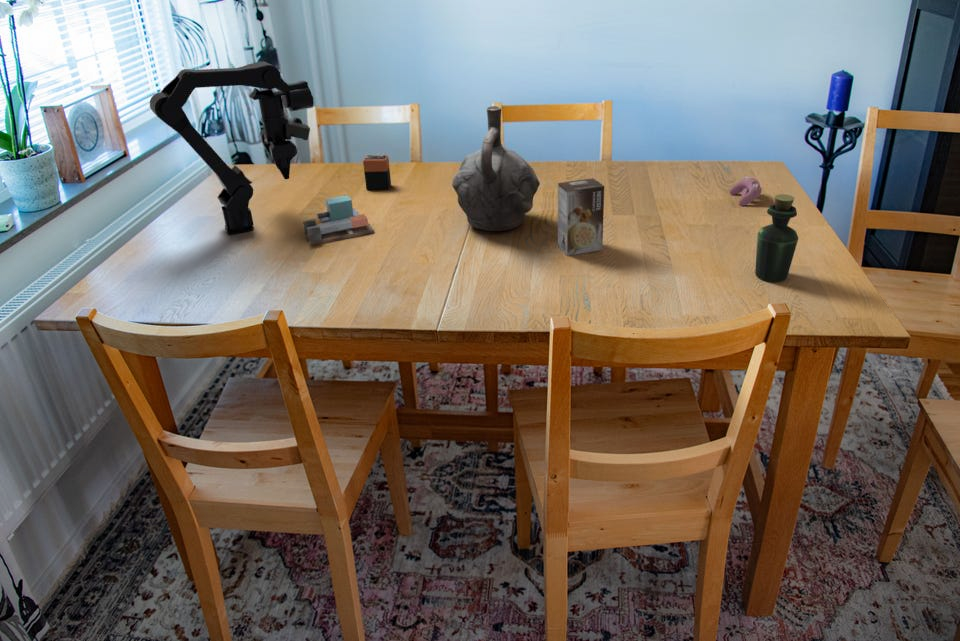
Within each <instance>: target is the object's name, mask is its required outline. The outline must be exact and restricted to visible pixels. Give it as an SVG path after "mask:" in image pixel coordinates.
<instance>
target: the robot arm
mask: <svg viewBox="0 0 960 641" xmlns="http://www.w3.org/2000/svg"><path fill="white" fill-rule="evenodd" d="M234 86H247V87H252V88H253V91H252V92H251V93H250V94H249V98H250V99H252V100H253V101H258V104H259V110H260V115H261V117H260V122H261V124H262V126H263V128H262V130H260V132H259V137H260V141H261V143H262V144H263V147H264V148H265V150H266V151H267V153H268V155H269V156H270V158H271V160H272V162H273V163H274V165H275V167H276V168H277V169H278V170H279V172H280V174H281V176H282V177H283V178H284V180H289V179H290V169H291V164H292V163H291V162H292V160H293V158H295V157H296V156H297V155H298V148H297V146H296V144H295V143H294V142H293V141H291V140H292V138H295V139H299V140H300V139H301V140H303V141H309V136H310V133H311V132H310V131H311V127H310V126H309V125H307V124H305V123H303V121H302V119H301V118H299V117H294V118H292V119H291V120H289V119H288V118H286V113H285V110H284V108H285V109H288V110H289V111H290V112H297V111H302V110H309V109H312V108H314V105H315V102H314V96H313V95H312V92H311V89H310V87H309V83H308V81H306V80H300V81H297V82H293V83H287V82H286V81H285V80H284V78H282V74H281V72H280V70H279V69H278V68H277V67H276V66H275V65H273V64H271V63H268V62H266V61H257V62H252V63H248V64H246V65H243V66H240V67H228V68H227V67H226V68H207V69H205V68H204V69H203V68H202V69H201V68H200V69H188V68H183V69H181V70H180V71H179V72H178V74H177V75H176V76H175V77H174V78H173V79H172V80H170V81H169V83H167V84H166V85H165V86H164V87H163V89H162V90H161V91H159V92H157V93H154V94H153V95H152V96H151V98H150V100H149V108H150V110H151V111H152V112H153V114H154V115H156V117H157V118H158V119H160V120H161V121H162V122H163V123H164V124H166V125H167V126H168V127H170V128H171V129H172V130H174V131H175V132H176V133H177V134H179V135H180V136H181V137H182V138H183V140H184V141H185V142H186V143H187V144H188V145H189V146H190V147H191V149H192V150H193V151H194V152H195V153H196V154H197V155H198V156H199V157H200V158H201V160H202V161H203V162H204V163H205V164H206V166H207V167H209V168H210V170H212V172H213V173H214V175H215V176H216V178H217V180H218V181H219V183H220V184H221V186H222V190H221V191H220V193H219V194H218V196H217V199H218V200H219V202H220V204H221V205H222V206H221V211H222V215H223V220H224V224H225V225H224V228H225V230H226V233H227V235H234V234H241V233H244V232H250V231H253V230H254V227H253V226H254V220H253V214H252V210H251V209H250V208H249V204H250V203H249V202H250V201H251V199H252V197H253V195H254V188H253V185H251V184H252V183H253V181H251V180H250V179H249V178H248V177H247V176H246V175H245V174H244V172H243V170H241V169H240V168H239V167H238V165H233V167H232V168H231V167H230V166H229V165H227V163H226V162H225V161H224V160H223V159H222V157H220V155H219V154H218V153H217V152H216V151H215V150H214V148H213V147H212V146H211V145H210V144H209V143H208V141H207V140H206V139H205V138H204V137H203V136H202V135H201V134H200V133H199V132H198V131H197V130H196V128H195V127H194V126H193V125H192V123H191V121H190V120H189V118H188V115H187V114H186V112H185V111H184V109H183V107H184V106H185V105H186V103H187V101H188V100H189V98H190V96H191V94H192V93H193V92H194V91H195V89H200V88H201V89H202V88H214V87H215V88H217V87H218V88H219V87H234ZM259 89H262V90H259ZM274 89H277V91H273V90H274Z"/></svg>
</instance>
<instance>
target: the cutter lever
mask: <svg viewBox="0 0 960 641" xmlns="http://www.w3.org/2000/svg"><path fill="white" fill-rule="evenodd" d="M368 223H369V221H368V217H367V216H366V215H365V214H364V213H363V214H360V215H357V216H352V217H349V218H346V219H342V220H337V221H332V222H327V223H323V224H322V223H319V224H318V223H317V224H316V225H313V226H317V225H319V226H320V231H321V234H325V233H329V232H334V231H339V230H343V229H348V228H352V227H353V228H356V227H360V226H365V225H368ZM311 227H312V226H311Z"/></svg>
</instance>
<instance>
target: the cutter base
mask: <svg viewBox="0 0 960 641" xmlns="http://www.w3.org/2000/svg"><path fill="white" fill-rule="evenodd" d="M302 225H303V231H304V235H305V237H306V236H307V239H308V242H309V244H311V245H312V246H315V245H319V244H320V245H321V244H325V243H330V242H334V241H335V242H336V241H340V240H346V239H350V238H354V237H360V236H365V235H370V234H375V229H374V228H373V227H372V226H371V225H370V223H369V222H368V225H365V226H360V227H356V228H353V227H352V228H348V229H343V230H339V231H334V232H329V233H325V234H321V231H320V226H319V225H318V224H317V222H316V218H311V219H307V220H302ZM313 225H317V226H313ZM311 226H312V227H311Z"/></svg>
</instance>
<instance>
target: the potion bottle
mask: <svg viewBox="0 0 960 641" xmlns="http://www.w3.org/2000/svg"><path fill="white" fill-rule="evenodd" d="M794 200H795V196H793V195H790V194H786V193H785V194H783V193H780V194H776V195H774V203H773V204H770V205H769V207H768V209H767V211H766V213H767V214H768V215H769V216H770V217H771V221H772V223H770V224H767V225H765V226H762V227H761V229H760V230H758V232H757V239H756V256H755V268H754V269H755V271H754V273H755V276H756V277H757V278H758V279H760V280H761V281H764V282H769V283H780V282H783V281H785V280H787V278H788V276H789V273H790V269H791V266H792V261H793V259H794V254H795V252H796V249H797V245H798V241H799V235H798V234H797V231H796V230H795V229H794V228H792V227H790V226H789V222H790V221H791V219H793V218H795V217H797V215H798V212H797V208H796V207H795V206H794V205H793V203H794Z"/></svg>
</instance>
